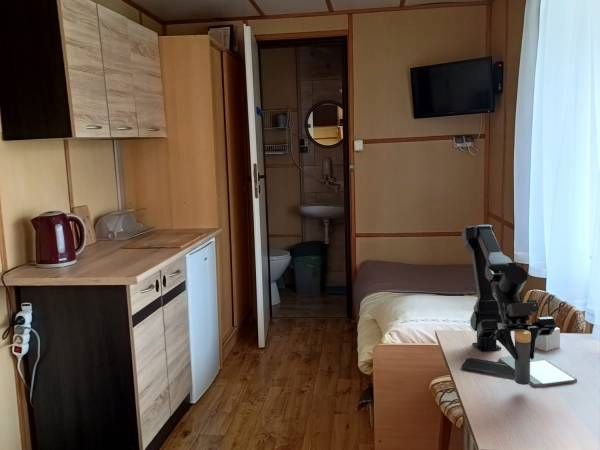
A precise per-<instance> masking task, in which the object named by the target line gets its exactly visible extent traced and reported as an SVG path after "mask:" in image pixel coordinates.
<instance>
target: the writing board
mask: <svg viewBox="0 0 600 450" xmlns="http://www.w3.org/2000/svg"><path fill="white" fill-rule="evenodd" d="M498 362H499V363H506V364H507V365H508V366H509V367H511V368H512V369H513V370H515V359H514V358H513V357H512V355H509V356H503V357H502V356H501V357H500V356H499V357H498ZM575 382H578V378H577V377H575V376H573V375H572V374H571V373H569V372H568V371H566V370H564V369H563V368H561V367H560V366H558V365H556V364H554V363H553V362H551V361H550V360H548V359H547V358H545V357H544V356H542V355H540V354H539V353H536V352H534V358H533V359H531V358H530V384H529V385H531V386H533V387H534V388H538V387H545V386H553V385H560V384H561V385H562V384H567V383H575Z"/></svg>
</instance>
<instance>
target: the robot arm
mask: <svg viewBox="0 0 600 450" xmlns="http://www.w3.org/2000/svg"><path fill="white" fill-rule="evenodd" d="M461 239H462V241H463V242H464V247H465V248H466V251H468V252H469V253H470V255H471V260H472V261H471V262H472V266H473V267H472V268H473V273H474V274H473V275H474V282H475V289H476V290H475V291H476V296H477V299H476V301H475V304H474V306H473V312H472V314H471V317H470V320H469V321H470V322H469V323H470V327H471V329H472V330H473V331H474V332H476V342H472V343H471V344H472V346H474V347H475V348H476V349H477V350H479V351H480V352H489V351H491V352H492V351H499V350H501V349H502V347H501V346H499V345H498V344H497V342H499V343H500V345H502V346H503V347H504V348H505V350H507V353H509V354H510V356H512V357H513V358H514V359H515V360H517V359H518V357H517V352H516V349H515V342H514V340H513V337H512V332H515V331H516V330H526V331H529V332H531V342H530V358H531V359H533V358H534V353H535V348H536V347H535V340H536V338H537V337H538V336H547V335H551V334H552V332H553V331H554V330H555V328H556V327H557V328H558V323H557V322H556V319H554V317H552V316H543V317H542V316H540V317H539V316H538V317H537V319H536V320H535V322H527V321H529V319H530V316H531V317H532V316H533V313H538V312H540V310H539V309H540V307H539V303H538V301H537V299H528V300H527V301H526V302H523V300H521V299H520V296H519V293H521V291H522V290H523V288H524V285H525V283H526V282H527V280H528V277H529V276H528V272H527V271H526V270H525V268H524V267H521V266H519V265H517V262H516V261H513V260H511V258H510V257H509V256H507V255H505V254H504V253H503V252H502V250H501V248H500V245H499V243H498V240H497V238H496V236H495V234H494V227H493V225H492V224H489V223H488V224H477V225H466V226H465V227H464V228H463V229H462V230H461ZM495 283H496V285H495V286H494V288H493V287H492V284H495ZM493 291H494V292H493Z"/></svg>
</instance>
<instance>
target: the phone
mask: <svg viewBox="0 0 600 450" xmlns="http://www.w3.org/2000/svg"><path fill="white" fill-rule="evenodd" d="M461 370H462V371H464V372H472V373H477V374H481V375H482V374H483V375H489V376H493V377H494V376H495V377H500V378H505V379H513V380H515V370H513V369H512V368H511V367H509V366H508V365H507V364H506V363H502V362H500V361H492V360H486V359H480V358H473V357H467V358H466V359H465V361H463V363H462V364H461Z"/></svg>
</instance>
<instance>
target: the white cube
mask: <svg viewBox="0 0 600 450" xmlns="http://www.w3.org/2000/svg"><path fill="white" fill-rule="evenodd" d="M536 347H537V349H538V350H539V349H540V350H541V349H542V350H541V351H545V352H548V350H549V351H552V350H555V349H557V348H561V328H559V327H558V326H557V327H556V328H555V330H554V331H553V332H552V334H551V335H547V336H538V337H537V338H536V340H535V348H536ZM551 349H552V350H551Z"/></svg>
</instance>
